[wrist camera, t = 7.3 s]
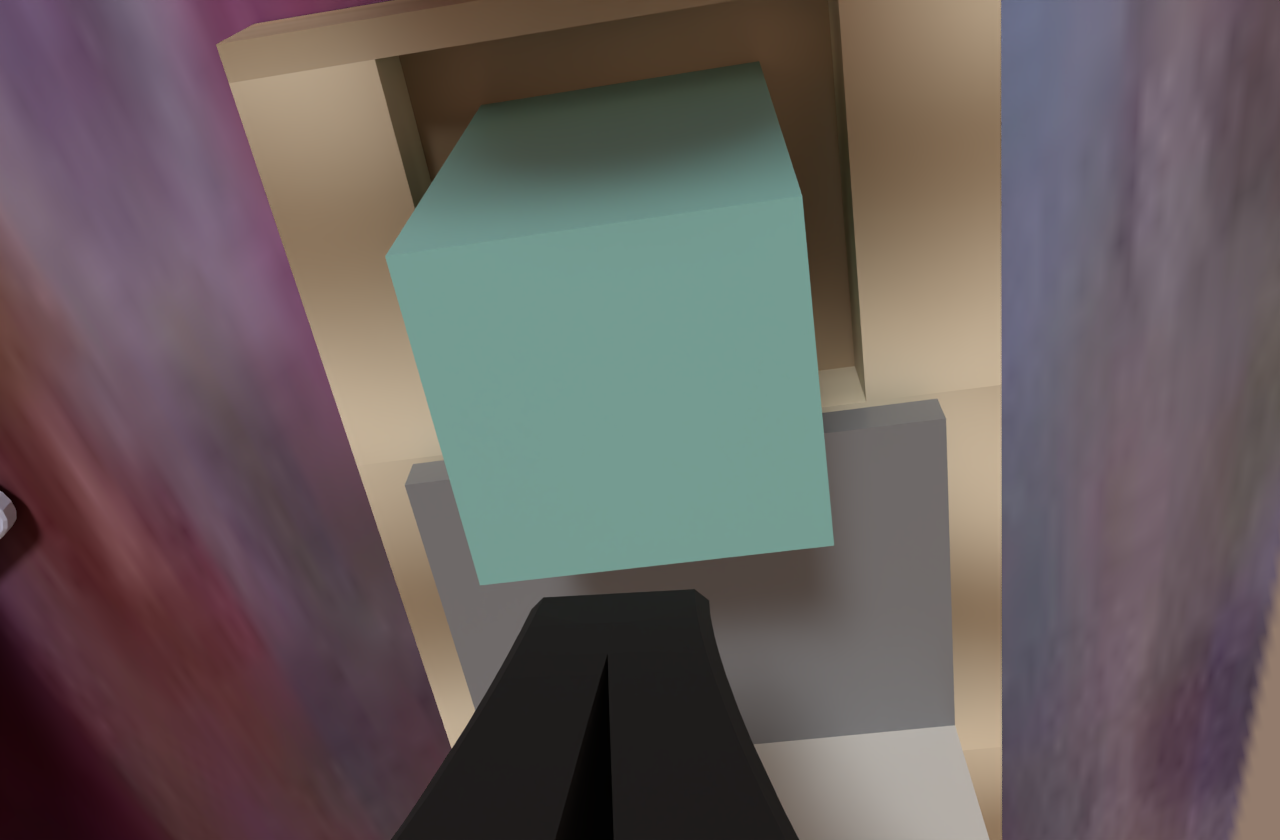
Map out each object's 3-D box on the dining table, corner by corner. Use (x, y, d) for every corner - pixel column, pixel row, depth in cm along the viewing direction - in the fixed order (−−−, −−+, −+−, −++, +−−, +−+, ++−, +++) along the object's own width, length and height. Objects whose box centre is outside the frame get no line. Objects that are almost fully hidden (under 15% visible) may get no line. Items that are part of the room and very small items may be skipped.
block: (786, 320, 17) (833, 545, 12) (537, 353, 18) (479, 585, 13) (759, 61, 15) (802, 197, 10) (481, 105, 16) (385, 256, 11)
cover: (948, 741, 20) (990, 886, 17) (510, 782, 20) (486, 926, 18) (937, 398, 16) (987, 513, 14) (412, 463, 17) (365, 584, 14)
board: (985, 949, 25) (1001, 1012, 24) (556, 981, 26) (550, 1043, 25) (971, -99, 15) (1000, -88, 13) (254, 23, 16) (216, 44, 14)
